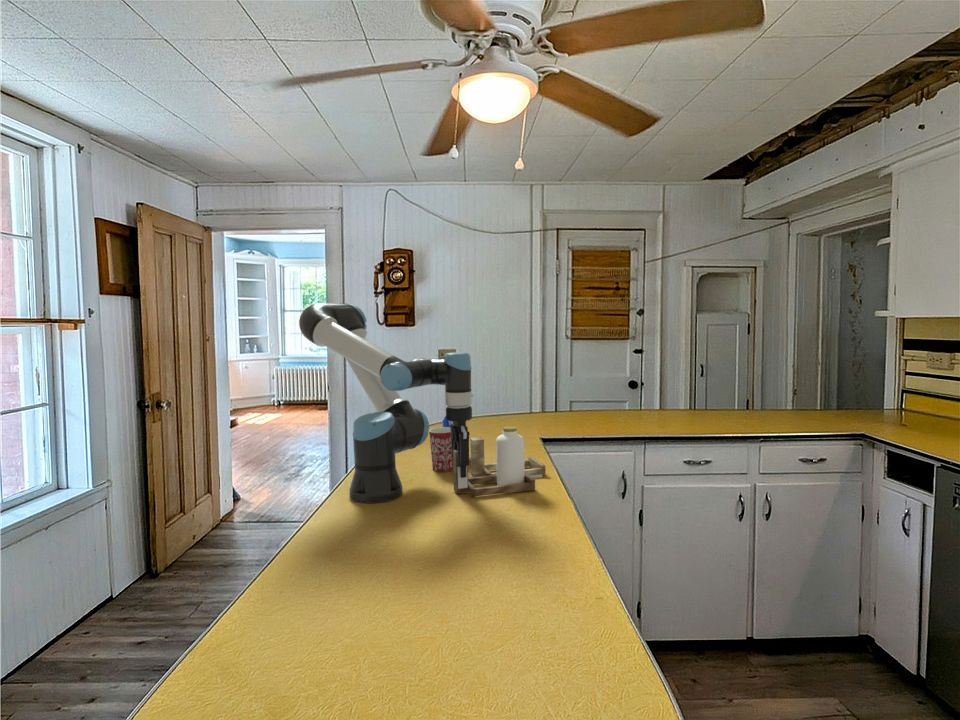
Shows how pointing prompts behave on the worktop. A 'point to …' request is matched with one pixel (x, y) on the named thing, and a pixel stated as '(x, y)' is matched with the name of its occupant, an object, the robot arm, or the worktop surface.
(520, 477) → the potion bottle
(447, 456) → the mug
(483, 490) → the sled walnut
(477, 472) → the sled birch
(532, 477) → the lane divider
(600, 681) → the worktop surface
